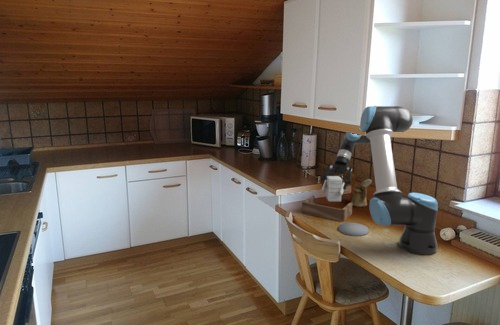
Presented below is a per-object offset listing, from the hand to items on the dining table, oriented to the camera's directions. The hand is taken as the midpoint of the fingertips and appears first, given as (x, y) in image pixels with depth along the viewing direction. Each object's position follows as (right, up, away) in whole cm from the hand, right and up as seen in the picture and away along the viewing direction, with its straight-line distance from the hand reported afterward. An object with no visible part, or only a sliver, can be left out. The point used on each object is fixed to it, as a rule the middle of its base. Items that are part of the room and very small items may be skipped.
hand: (331, 192), depth 205 cm
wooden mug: (+19, -9, +10) cm, 23 cm away
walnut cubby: (-3, -11, -3) cm, 12 cm away
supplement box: (+2, -5, +4) cm, 6 cm away
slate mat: (+5, -16, -25) cm, 30 cm away
